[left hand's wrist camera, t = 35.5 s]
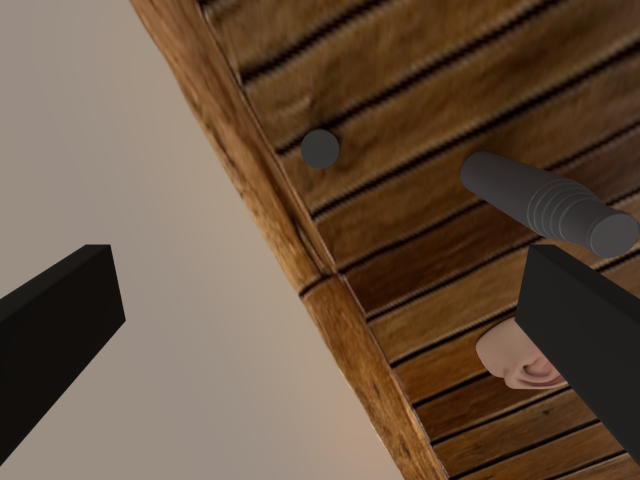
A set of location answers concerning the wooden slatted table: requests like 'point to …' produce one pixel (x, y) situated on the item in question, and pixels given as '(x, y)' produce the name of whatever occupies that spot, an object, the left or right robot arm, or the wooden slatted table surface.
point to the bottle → (550, 204)
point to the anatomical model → (516, 358)
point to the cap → (320, 148)
